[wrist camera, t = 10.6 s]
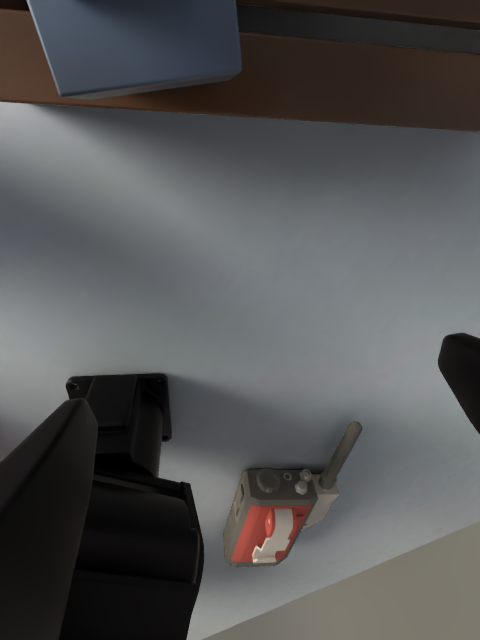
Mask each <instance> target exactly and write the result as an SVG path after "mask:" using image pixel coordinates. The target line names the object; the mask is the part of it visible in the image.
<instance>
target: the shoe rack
mask: <svg viewBox="0 0 480 640" xmlns="http://www.w3.org/2000/svg"><path fill="white" fill-rule="evenodd" d="M236 4H241V5H250V6H260V7H269V8H278V9H288V10H297V11H307V12H316V13H325V14H335V15H344V16H354V17H363V18H372V19H382V20H391V21H401V22H410V23H419V24H429V25H438V26H448V27H457V28H466V29H476V30H480V0H236ZM239 38H240V49H241V59H242V71H241V72H240V73H238V74H237V75H236V76H234V77H233V78H232V79H230V80H228V81H221V82H214V83H207V84H200V85H193V86H186V87H179V88H172V89H165V90H158V91H151V92H143V93H136V94H129V95H122V96H115V97H108V98H101V99H94V100H86V99H75V98H64V97H61V96H60V95H59V93H58V91H57V88H56V85H55V82H54V79H53V76H52V73H51V70H50V67H49V64H48V61H47V59H46V56H45V53H44V50H43V47H42V44H41V41H40V38H39V35H38V32H37V29H36V26H35V24H34V21H33V18H32V15H31V12H30V9H29V6H28V3H27V0H0V102H12V103H28V104H44V105H60V106H76V107H92V108H108V109H124V110H140V111H156V112H172V113H188V114H204V115H220V116H236V117H252V118H268V119H284V120H300V121H316V122H332V123H348V124H364V125H380V126H396V127H412V128H428V129H444V130H460V131H476V132H480V54H471V53H461V52H451V51H440V50H430V49H419V48H409V47H398V46H388V45H378V44H367V43H357V42H346V41H336V40H325V39H315V38H305V37H294V36H284V35H273V34H263V33H252V32H242V31H239Z"/></svg>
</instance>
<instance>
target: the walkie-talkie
mask: <svg viewBox="0 0 480 640" xmlns="http://www.w3.org/2000/svg"><path fill="white" fill-rule="evenodd" d="M361 431H362V425H361V424H360V423H359V422H357V421H352V422H350V424H349V426H348V428H347V430H346V431H345V433H344V435H343V437H342V439H341V441H340V443H339V445H338V447H337V449H336V451H335V453H334V455H333V457H332V459H331V461H330V463H329V465H328V466H327V468H326V470H324V471H323V472H322V474H321V475H311V472H310V471H309V470H308V469H304V470H273V469H270V468H265V469H249V470H246V471H245V472H243V473H242V476H241V479H240V482H239V485H238V488H237V492H236V495H235V498H234V503H233V504H232V505H233V506H232V507H231V508H232V509H231V510H230V514H229V518H228V521H227V524H226V527H225V530H224V533H223V539H224V553H225V560H226V561H227V562H228V563H229V564H230V565H232V566H233V567H253V566H274V565H278V564H279V563H280V562H281V561H283V560H284V559H285V558H286V557H287V556H288V555H289V552H290V550H291V549H292V547H293V544H294V543H295V541H296V539H297V538H298V535H299V533H300V532H301V529H306V528H308V527H310V526H312V525H314V524H315V523H317V522H319V521H321V520H322V519H323V518H324V516H325V515H326V513H327V511H328V510H329V508H330V506H331V505H332V503H333V501H334V500H335V499H337V497H338V495H339V491H338V488H337V485H336V483H335V482H336V480H337V475H338V473H339V471H340V470H341V468H342V466H343V464H344V462H345V460H346V459H347V457H348V455H349V453H350V451H351V450H352V448H353V446H354V444H355V442H356V440H357V439H358V437H359V435H360V433H361Z"/></svg>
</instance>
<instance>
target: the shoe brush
mask: <svg viewBox="0 0 480 640" xmlns="http://www.w3.org/2000/svg"><path fill="white" fill-rule="evenodd" d="M27 3H28V6H29V9H30V12H31V15H32V18H33V21H34V24H35V26H36V29H37V32H38V35H39V38H40V41H41V44H42V47H43V50H44V53H45V56H46V59H47V61H48V64H49V67H50V70H51V73H52V76H53V79H54V82H55V85H56V88H57V91H58V93H59V95H60V96H61V97H64V98H75V99H86V100H94V99H101V98H108V97H115V96H122V95H129V94H136V93H143V92H151V91H158V90H165V89H172V88H179V87H186V86H193V85H200V84H207V83H214V82H221V81H228V80H230V79H232V78H233V77H234V76H236V75H237V74H238V73H240V72H241V71H242V59H241V49H240V38H239V27H238V17H237V6H236V0H27Z"/></svg>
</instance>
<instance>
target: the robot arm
mask: <svg viewBox="0 0 480 640" xmlns="http://www.w3.org/2000/svg"><path fill="white" fill-rule="evenodd" d="M438 366H439V369H440V371H441V373H442V375H443V376H444V378H445V380H446V381H447V383H448V385H449V386H450V388H451V390H452V392H453V393H454V395H455V397H456V398H457V400H458V402H459V403H460V405H461V407H462V409H463V410H464V412H465V414H466V415H467V417H468V418H469V420H470V422H471V423H472V424H473V426H474V427H475V429H476V430H477V432H478V433H479V434H480V338H477V337H474V336H472V335H469V334H466V333H456V334H450V335H447V336H445V338H444V339H443V342H442V346H441V350H440V354H439V358H438ZM158 380H162V382H159V381H158ZM74 384H77V385H74ZM66 389H67V392H68V395H69V399H70V400H67V401H65V402H64V403H63V404H62V405H60V406H59V407H58V408H57V409H56V410H55V411H54V412H53V413H52V414H51V415H50V416H49V417H48V418H47V419H46V420H45V421H44V422H43V423H41V424H40V425H39V426H38V427H37V428H36V429H35V430H34V431H33V432H32V433H31V434H30V435H29V436H28V437H27V438H26V439H25V440H23V441H22V442H21V443H20V444H19V445H18V446H17V447H16V448H15V449H14V450H13V451H12V452H11V453H10V454H9V455H8V456H7V457H6V458H4V459H3V460H2V461H1V462H0V640H186V638H187V634H188V629H189V624H190V619H191V615H192V611H193V608H194V605H195V602H196V599H197V595H198V592H199V587H200V583H201V579H202V572H203V564H204V545H203V538H202V534H201V529H200V525H199V521H198V516H197V512H196V507H195V503H194V499H193V494H192V490H191V485H190V483H186V482H182V481H181V482H180V483H179V482H175V481H170V480H166V479H162V478H158V475H159V464H160V453H161V442H166V441H169V440H170V439H171V437H172V428H171V414H170V401H169V388H168V378H167V376H166V375H164V374H160V373H158V374H131V375H103V376H76V377H71V378H69V379H68V381H67V383H66Z"/></svg>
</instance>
